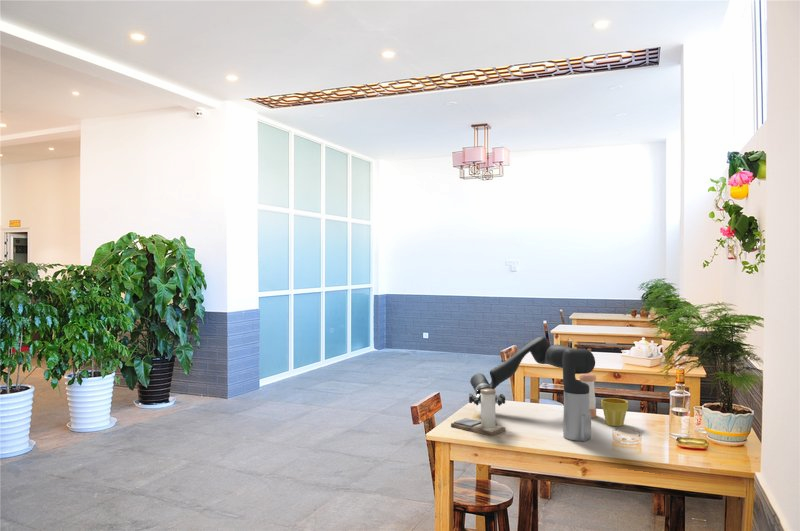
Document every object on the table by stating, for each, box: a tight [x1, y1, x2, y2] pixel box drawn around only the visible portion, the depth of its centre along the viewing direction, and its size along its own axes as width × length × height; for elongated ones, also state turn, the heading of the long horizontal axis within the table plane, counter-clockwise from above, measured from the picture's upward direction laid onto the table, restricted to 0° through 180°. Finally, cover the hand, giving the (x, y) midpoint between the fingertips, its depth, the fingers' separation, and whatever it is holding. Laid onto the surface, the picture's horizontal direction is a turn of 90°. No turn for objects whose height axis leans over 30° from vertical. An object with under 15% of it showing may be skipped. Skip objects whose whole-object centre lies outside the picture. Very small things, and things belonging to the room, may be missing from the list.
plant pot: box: [600, 397, 629, 427], centre depth 237 cm, size 10×10×10 cm
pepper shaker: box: [578, 372, 597, 419], centre depth 251 cm, size 7×7×19 cm
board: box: [450, 417, 506, 437], centre depth 229 cm, size 19×10×2 cm, turn 49°
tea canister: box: [480, 389, 497, 428], centre depth 226 cm, size 6×6×14 cm
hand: (488, 402), depth 225 cm, fingers open, 8 cm apart
